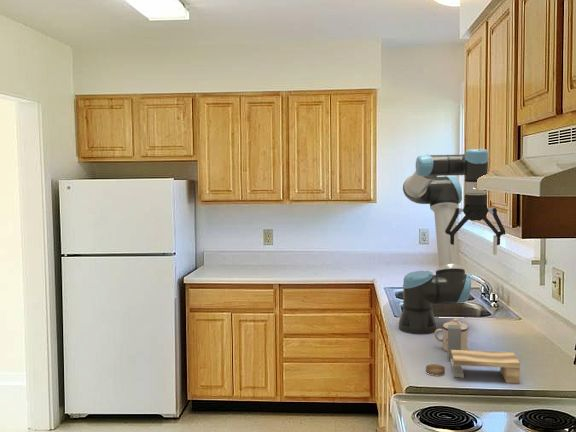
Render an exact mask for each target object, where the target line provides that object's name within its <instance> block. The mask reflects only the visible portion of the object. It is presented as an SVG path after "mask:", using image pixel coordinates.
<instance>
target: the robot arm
mask: <svg viewBox="0 0 576 432" xmlns="http://www.w3.org/2000/svg"><path fill="white" fill-rule="evenodd" d="M486 174H489V152H488V150H487V149H485V148H475V149H474V148H470V149H467V150H465V153H462V154H425V155H418V156H417V157H416V161H415V171H414V173H412V175H410V176H408V177H407V178H406V179H405V181H403V184H402V191H403V194H404V196H405V197H406V198H407V199H408V200H409V201H411V202H413V203H414V204H415V203H416V204H420V205H429V209H430V210H431V211H432V212H433V214H434V223H435V224H434V225H435V226H434V227H435V233H436V235H435V237H436V248H437V260H438V268H437V269H436V270H435V274H433V272H432V271H430V270H418V271H417V270H416V271H413V272H408V273H407V274H405V275H404V277H403V284H402V287H403V289H402V290H403V291H402V292H403V294H402V296H403V298H402V300H403V301H402V302H403V303H402V306H403V307H402V308H403V309H402V312H401V315H400V318H399V320H398V329H399V330H400V331H402V332H405V333H409V334H412V335H413V334H415V335H427V334H431V333H435V331H436V330H437V322H436V318H435V315H434V312H433V304H434V305H435V304H436V305H437V304H440V305H441V304H453V305H456V304H464V303H466V302H468V300H469V298H470V295H471V292H472V290H471V289H472V279H471V275H469V274H467V273H466V272H465V271H466V270H465V268H464V267H462V266H461V258H460V257H461V256H460V249H459V248H460V247H459V237H458V231H460V229H462V227H463V226H464V225H465V224H466V223H467V222H468V221H471V222H473V221H477V222H478V221H479V222H480V221H482V220H483V221H484V222H485V223H486V225H487V226H488V227H489V228H490V229H491V230H492V232H493V234H494V235H493V237H492V238H493V242H492V246H493V247H492V254H493V256H497V254H498V253H497V251H498V250H497V249H498V246H500V245H501V236H503V235H507V232H506V233H505V231H506V229H505V227H504V225H503V223H502V222H501V219H500V217H499V215H498V210H497V208H496V207H494V206H493V207H490V208H488V194H487V193H488V190H487V191H484V190H478V189H477V179H478V178H479V177H481V176H483V175H486ZM455 176H464V193H465V195H464V199H463V191H462V186H461V182H460V180H459V179H458V178H457V177H455ZM462 200H464V201H463V203H464V205H463V208H459V204H461V202H462ZM462 213H463V214H464V216H463V218H462V219H461V220H460V221H459V222H458V223H457V219H458V216H459V215H461V214H462ZM488 213H490V214H491V215H492V217H493V219H494V221H495V223H496V224H497V227H498V228H499V230H498V229H497V227H495V226H494V225H493V223H492V222H491V221H490V220H489V219H488V217H487V214H488Z"/></svg>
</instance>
